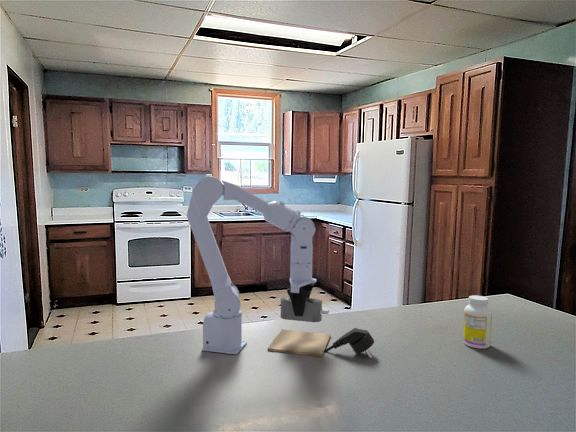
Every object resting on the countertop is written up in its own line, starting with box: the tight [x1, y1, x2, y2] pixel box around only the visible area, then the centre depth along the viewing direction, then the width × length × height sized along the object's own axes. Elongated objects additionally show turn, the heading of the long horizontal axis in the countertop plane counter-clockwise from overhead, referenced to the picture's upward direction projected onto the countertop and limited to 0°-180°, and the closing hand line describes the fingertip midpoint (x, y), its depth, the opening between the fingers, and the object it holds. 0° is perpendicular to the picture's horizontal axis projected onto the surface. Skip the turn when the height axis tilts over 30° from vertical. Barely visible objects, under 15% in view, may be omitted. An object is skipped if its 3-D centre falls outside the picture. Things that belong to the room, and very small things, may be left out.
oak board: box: [267, 329, 331, 358], centre depth 109 cm, size 14×14×1 cm
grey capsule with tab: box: [280, 296, 330, 323], centre depth 108 cm, size 13×4×5 cm, turn 75°
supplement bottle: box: [462, 294, 493, 350], centre depth 109 cm, size 7×7×13 cm
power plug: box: [324, 327, 375, 359], centre depth 103 cm, size 6×8×12 cm
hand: (300, 313), depth 108 cm, fingers closed on grey capsule with tab, 4 cm apart
